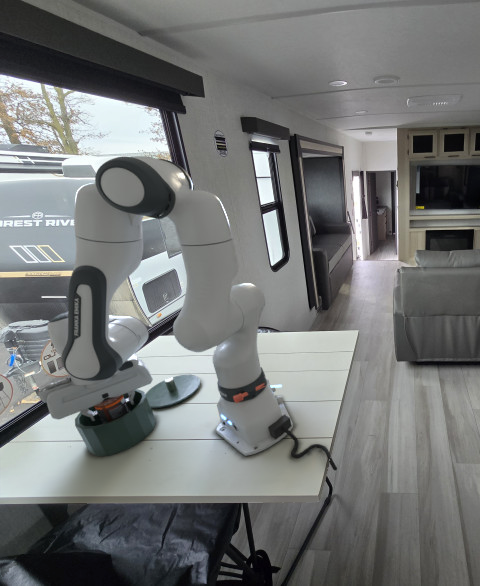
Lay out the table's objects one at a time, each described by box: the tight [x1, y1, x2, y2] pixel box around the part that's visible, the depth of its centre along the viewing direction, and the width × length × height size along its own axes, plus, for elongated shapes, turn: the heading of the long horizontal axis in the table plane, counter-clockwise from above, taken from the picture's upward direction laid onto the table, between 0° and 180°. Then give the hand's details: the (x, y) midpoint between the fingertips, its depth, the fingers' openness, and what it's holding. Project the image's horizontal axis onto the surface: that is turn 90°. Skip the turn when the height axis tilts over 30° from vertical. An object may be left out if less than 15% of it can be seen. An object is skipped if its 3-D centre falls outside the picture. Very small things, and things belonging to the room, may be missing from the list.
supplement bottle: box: [94, 393, 130, 424], centre depth 83 cm, size 6×6×11 cm
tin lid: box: [145, 374, 201, 409], centre depth 102 cm, size 16×16×5 cm
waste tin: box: [74, 388, 157, 457], centre depth 85 cm, size 15×15×10 cm
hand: (114, 411), depth 84 cm, fingers closed on supplement bottle, 6 cm apart
